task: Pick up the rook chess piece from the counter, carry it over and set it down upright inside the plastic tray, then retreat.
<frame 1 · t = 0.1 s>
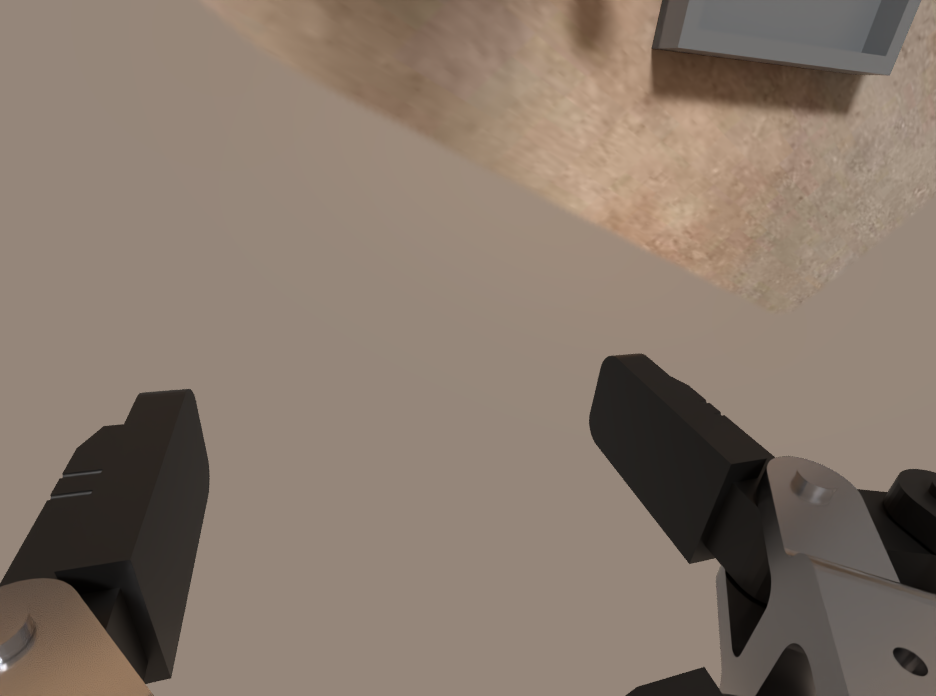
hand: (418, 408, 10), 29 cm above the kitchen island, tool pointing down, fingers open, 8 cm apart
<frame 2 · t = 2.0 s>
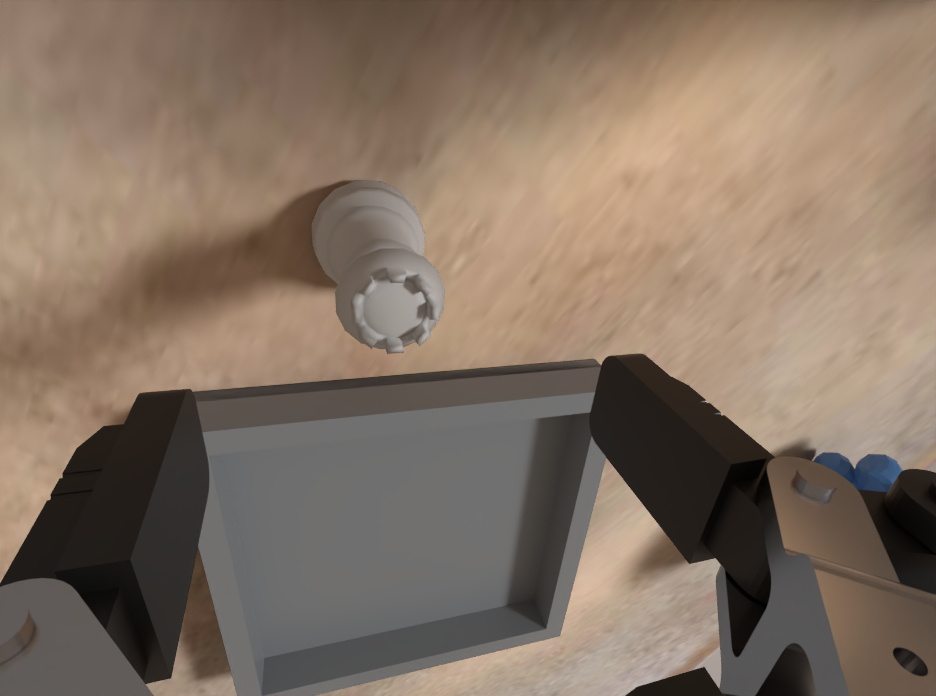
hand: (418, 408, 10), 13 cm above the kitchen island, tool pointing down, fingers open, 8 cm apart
rook chess piece: (366, 231, 21), on the kitchen island
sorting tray: (408, 520, 30), on the kitchen island
grapes: (792, 484, 39), on the kitchen island
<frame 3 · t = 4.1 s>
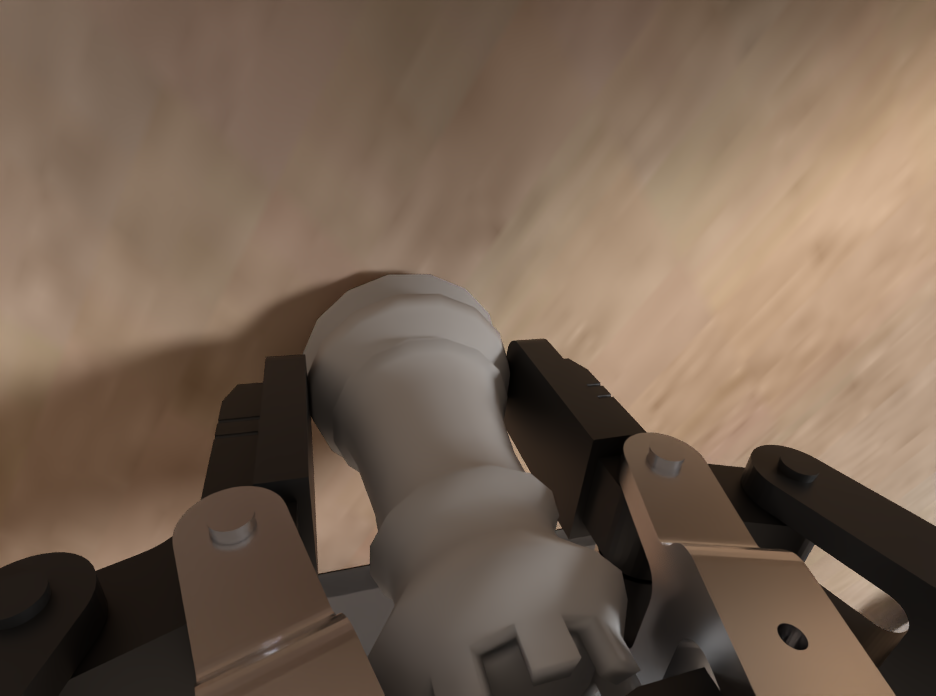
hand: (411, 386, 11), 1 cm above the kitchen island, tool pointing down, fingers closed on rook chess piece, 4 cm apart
rook chess piece: (400, 351, 12), on the kitchen island, touching gripper
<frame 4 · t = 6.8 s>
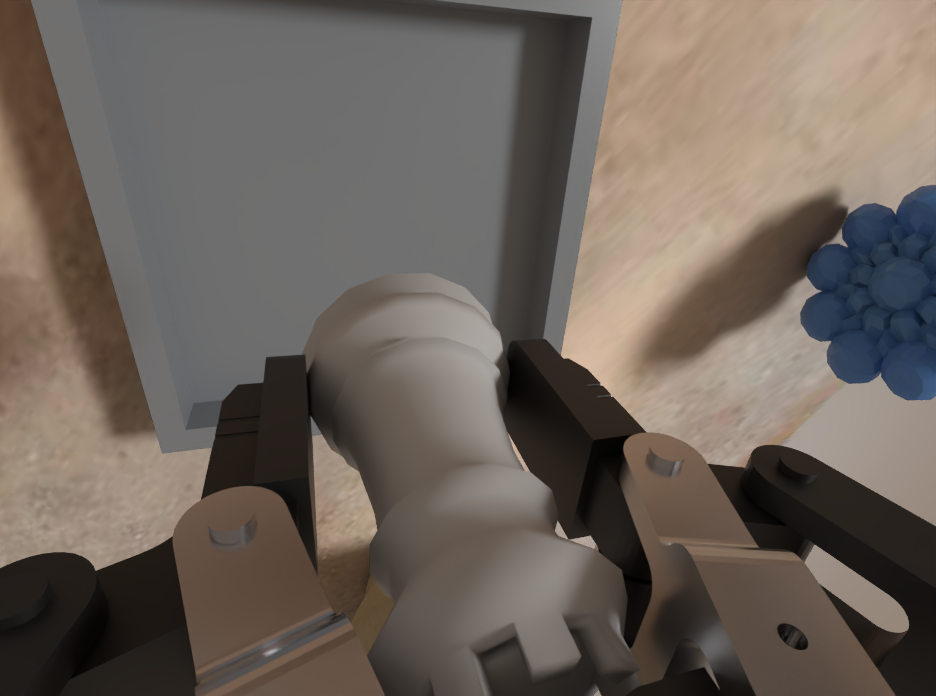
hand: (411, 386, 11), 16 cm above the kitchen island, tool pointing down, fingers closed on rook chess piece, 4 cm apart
rook chess piece: (399, 350, 12), point 14 cm above the kitchen island, touching gripper
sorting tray: (364, 222, 24), on the kitchen island
planter bowl: (429, 574, 39), on the kitchen island
grapes: (819, 260, 34), on the kitchen island
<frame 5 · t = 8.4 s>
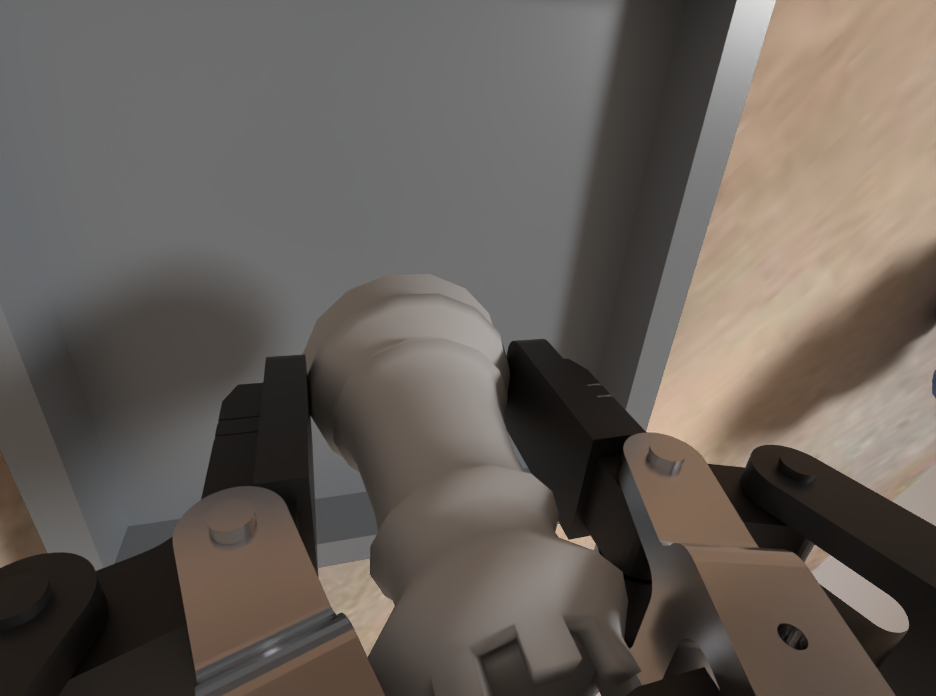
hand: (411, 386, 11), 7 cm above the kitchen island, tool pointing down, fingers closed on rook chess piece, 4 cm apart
rook chess piece: (400, 351, 12), point 6 cm above the kitchen island, touching gripper
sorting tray: (375, 273, 17), on the kitchen island
when the fingers open (4 cm above the kitchen island, at t = 9.9 s): rook chess piece drops 2 cm, resting on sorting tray.
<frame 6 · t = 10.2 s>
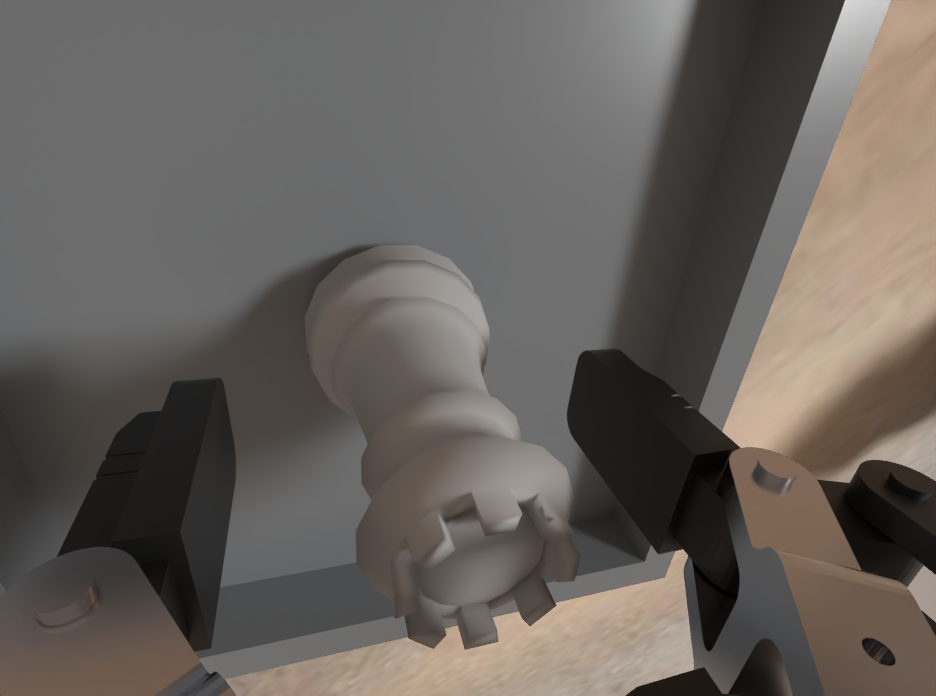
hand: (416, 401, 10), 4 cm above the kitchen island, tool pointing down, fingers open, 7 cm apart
rook chess piece: (392, 318, 13), point 1 cm above the kitchen island, touching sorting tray
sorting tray: (385, 312, 14), on the kitchen island
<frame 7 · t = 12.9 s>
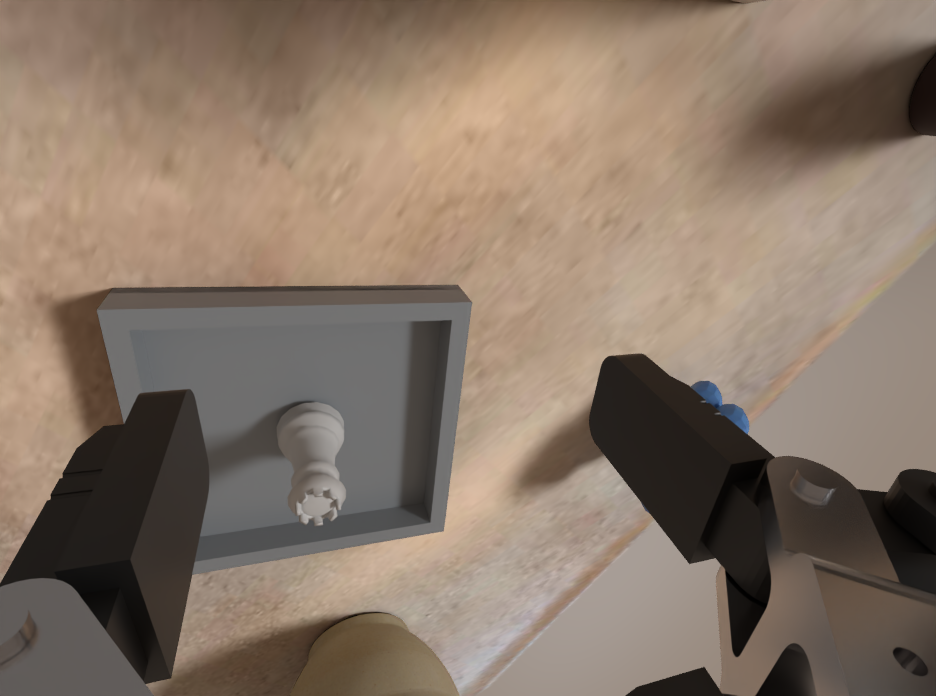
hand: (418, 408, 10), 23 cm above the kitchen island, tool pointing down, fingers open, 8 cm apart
rook chess piece: (310, 423, 35), point 1 cm above the kitchen island, touching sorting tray
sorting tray: (308, 419, 36), on the kitchen island
planter bowl: (360, 641, 50), on the kitchen island
grapes: (648, 414, 47), on the kitchen island
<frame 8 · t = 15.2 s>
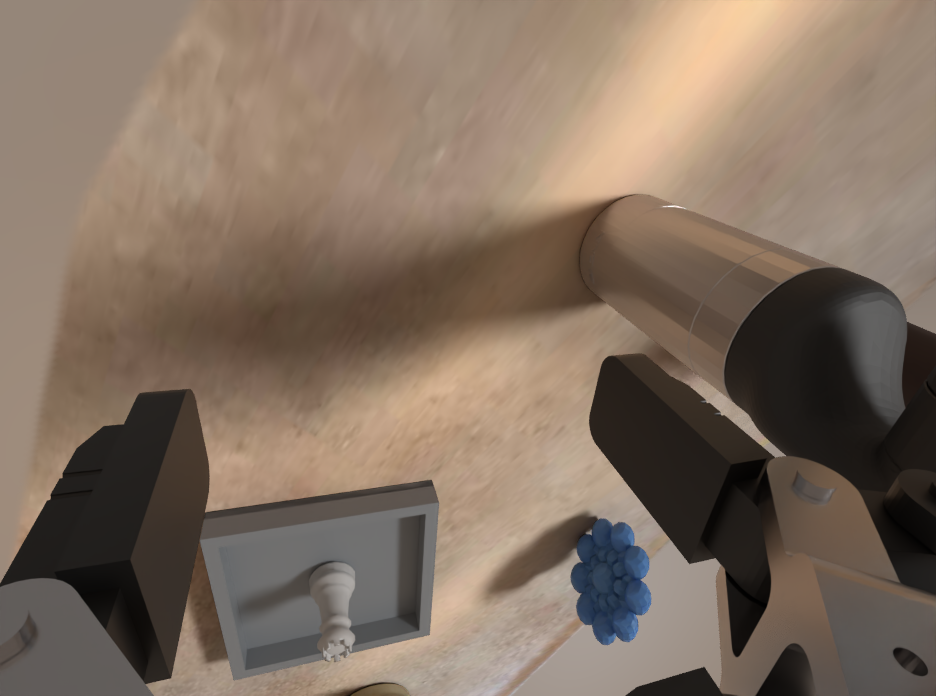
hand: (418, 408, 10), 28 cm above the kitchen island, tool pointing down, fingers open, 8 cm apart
bottle: (794, 311, 53), on the kitchen island
rook chess piece: (332, 572, 51), point 1 cm above the kitchen island, touching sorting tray
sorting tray: (330, 568, 51), on the kitchen island
grapes: (587, 536, 61), on the kitchen island
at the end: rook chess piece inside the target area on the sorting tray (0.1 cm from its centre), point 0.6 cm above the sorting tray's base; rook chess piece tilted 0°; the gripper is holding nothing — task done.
